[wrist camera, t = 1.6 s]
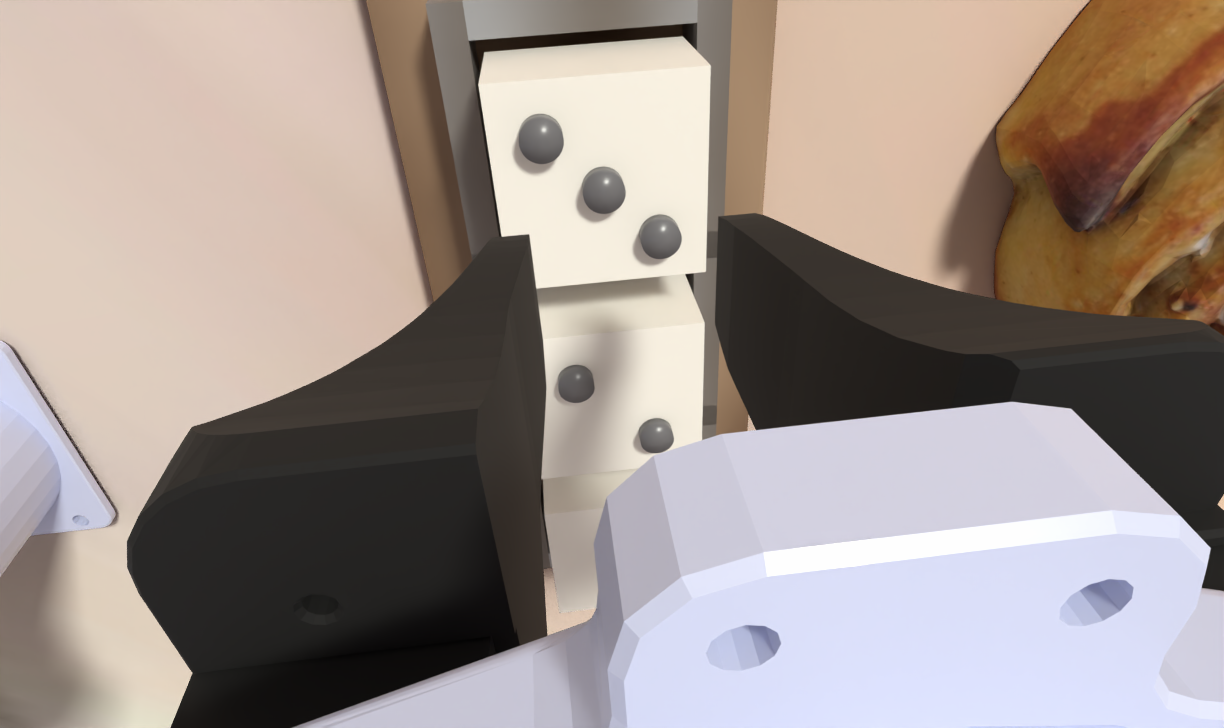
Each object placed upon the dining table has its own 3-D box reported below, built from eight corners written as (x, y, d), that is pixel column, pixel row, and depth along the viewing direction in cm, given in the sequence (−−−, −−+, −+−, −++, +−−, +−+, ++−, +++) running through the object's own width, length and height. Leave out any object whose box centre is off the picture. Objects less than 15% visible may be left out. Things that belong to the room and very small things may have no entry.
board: (491, 538, 29) (489, 595, 27) (360, -61, 17) (336, -49, 15) (734, 509, 30) (752, 563, 28) (771, -89, 18) (808, -82, 15)
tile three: (511, 236, 19) (509, 299, 16) (484, 51, 16) (477, 89, 14) (682, 220, 19) (709, 280, 17) (682, 36, 17) (715, 70, 14)
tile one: (555, 542, 26) (560, 623, 23) (541, 446, 23) (544, 525, 21) (681, 527, 26) (700, 606, 23) (681, 431, 24) (703, 506, 21)
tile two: (536, 412, 23) (539, 489, 20) (518, 283, 20) (517, 350, 17) (681, 397, 23) (704, 470, 20) (681, 266, 20) (707, 331, 17)
